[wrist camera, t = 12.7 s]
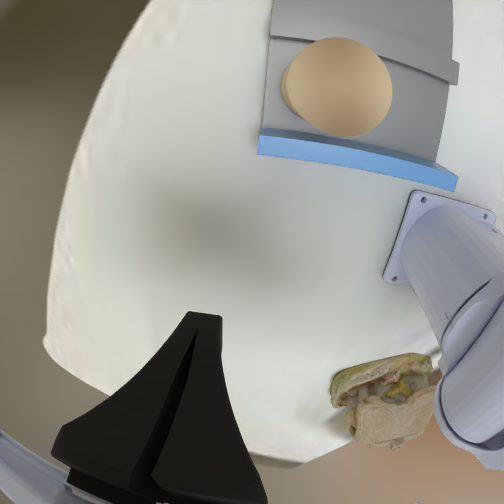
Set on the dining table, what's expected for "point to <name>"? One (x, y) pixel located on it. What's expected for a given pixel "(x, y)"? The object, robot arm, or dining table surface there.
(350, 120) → the wooden plug
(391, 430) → the ceramic model
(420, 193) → the robot arm
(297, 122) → the board
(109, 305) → the dining table surface
